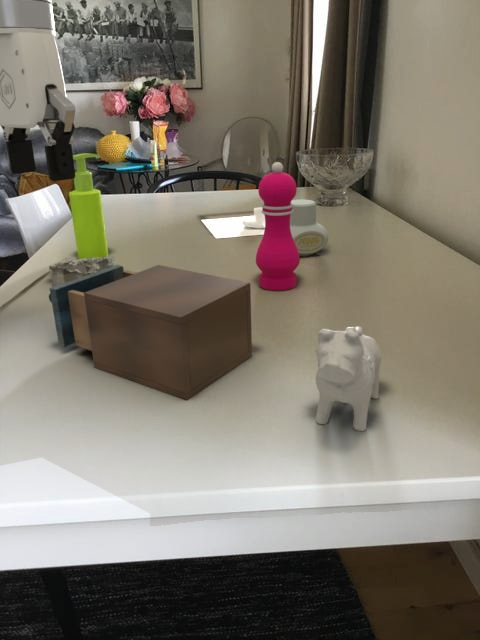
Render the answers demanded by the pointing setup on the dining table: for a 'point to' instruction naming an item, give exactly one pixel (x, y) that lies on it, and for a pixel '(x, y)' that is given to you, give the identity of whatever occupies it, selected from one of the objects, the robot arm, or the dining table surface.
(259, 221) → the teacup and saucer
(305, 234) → the air freshener
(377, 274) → the dining table surface
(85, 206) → the soap dispenser
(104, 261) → the egg carton
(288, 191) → the pepper mill
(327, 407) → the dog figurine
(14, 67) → the robot arm
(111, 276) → the drawer
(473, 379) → the dining table surface
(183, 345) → the cabinet
